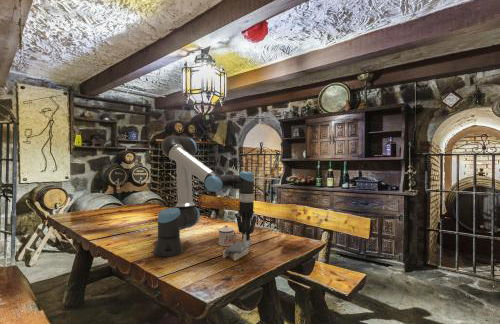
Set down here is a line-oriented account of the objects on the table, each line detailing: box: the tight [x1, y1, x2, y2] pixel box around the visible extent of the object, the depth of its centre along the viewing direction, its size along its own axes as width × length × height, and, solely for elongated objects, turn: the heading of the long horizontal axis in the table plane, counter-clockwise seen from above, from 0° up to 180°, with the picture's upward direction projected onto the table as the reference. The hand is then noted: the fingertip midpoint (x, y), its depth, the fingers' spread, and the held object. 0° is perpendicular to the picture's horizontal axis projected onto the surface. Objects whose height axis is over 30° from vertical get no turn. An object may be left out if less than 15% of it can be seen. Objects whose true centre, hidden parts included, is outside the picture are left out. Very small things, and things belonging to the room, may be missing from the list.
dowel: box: [228, 253, 234, 260], centre depth 147 cm, size 9×3×3 cm
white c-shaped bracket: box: [222, 246, 250, 261], centre depth 150 cm, size 8×17×4 cm, turn 151°
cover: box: [224, 237, 253, 254], centre depth 150 cm, size 9×18×4 cm, turn 159°
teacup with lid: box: [218, 224, 237, 247], centre depth 168 cm, size 12×9×12 cm
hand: (245, 246), depth 144 cm, fingers closed
